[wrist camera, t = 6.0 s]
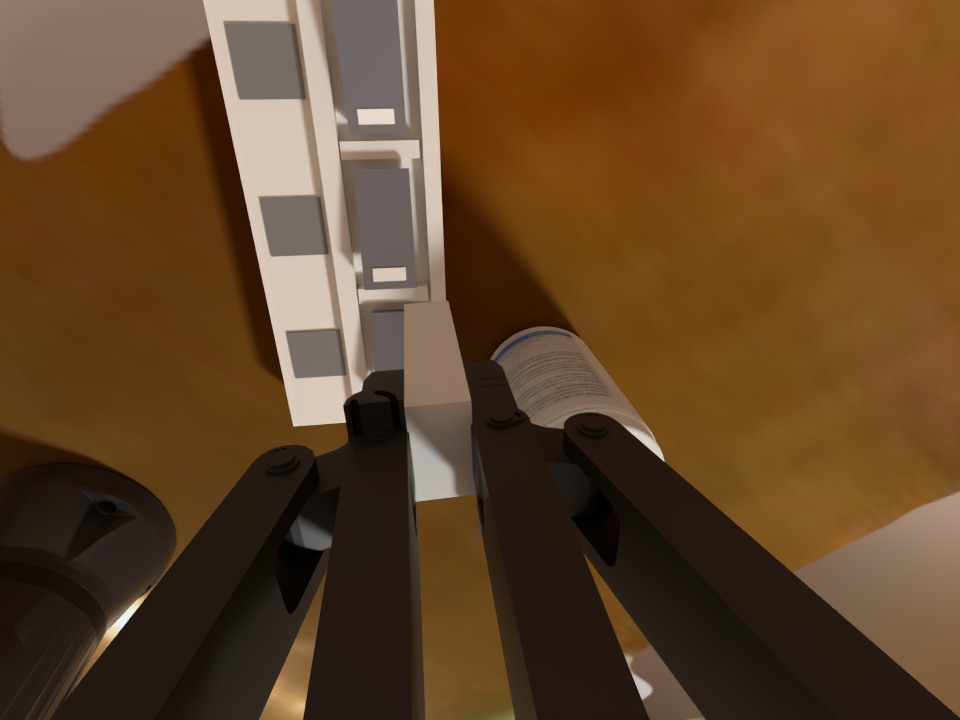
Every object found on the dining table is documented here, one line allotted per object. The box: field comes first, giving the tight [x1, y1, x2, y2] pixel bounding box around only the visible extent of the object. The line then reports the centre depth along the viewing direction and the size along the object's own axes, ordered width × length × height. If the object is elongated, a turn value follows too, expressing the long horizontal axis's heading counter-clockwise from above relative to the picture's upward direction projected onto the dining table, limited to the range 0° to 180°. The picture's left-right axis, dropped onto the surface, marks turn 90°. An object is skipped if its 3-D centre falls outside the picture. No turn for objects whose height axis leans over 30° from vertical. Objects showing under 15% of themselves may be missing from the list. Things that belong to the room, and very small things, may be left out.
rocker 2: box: [353, 168, 417, 290], centre depth 31 cm, size 3×7×2 cm, turn 0°
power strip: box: [203, 0, 446, 426], centre depth 35 cm, size 12×36×5 cm, turn 0°
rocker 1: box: [330, 0, 406, 134], centre depth 27 cm, size 3×7×2 cm, turn 0°
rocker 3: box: [370, 309, 404, 372], centre depth 35 cm, size 3×7×2 cm, turn 0°
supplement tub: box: [490, 326, 665, 462], centre depth 37 cm, size 10×10×15 cm
